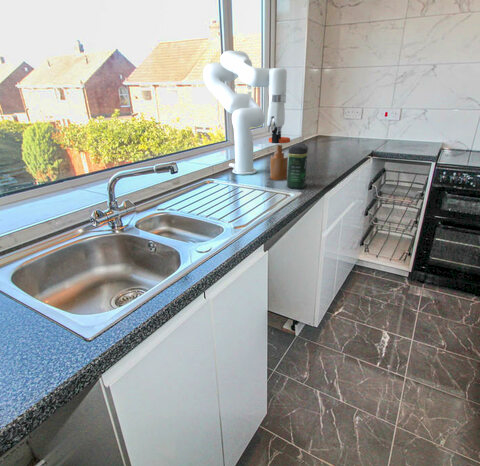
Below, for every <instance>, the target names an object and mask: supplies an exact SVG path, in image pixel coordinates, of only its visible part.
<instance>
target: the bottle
mask: <svg viewBox="0 0 480 466" xmlns="http://www.w3.org/2000/svg"><path fill="white" fill-rule="evenodd" d="M287 176H288V155H285V152H284V151H283V145H282V144H276V150H275V151H274V153H273V155H271V156H270V157H269V179H270V180H272V181H287Z"/></svg>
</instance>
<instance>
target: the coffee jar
mask: <svg viewBox="0 0 480 466" xmlns="http://www.w3.org/2000/svg"><path fill="white" fill-rule="evenodd" d="M308 149H309V147H308V145H306V144H305V143H295V144H293V145H291V146H289V147H288V151H287V153H288V155H287V156H288V169H287V179H286V187H287V188H291V189H295V190H297V189H303V188H304V187H305V186H306V185H307V167H308V166H307V165H308V153H309V152H308Z"/></svg>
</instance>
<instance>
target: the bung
mask: <svg viewBox="0 0 480 466" xmlns="http://www.w3.org/2000/svg"><path fill="white" fill-rule="evenodd" d="M290 142H291V138H290V137H287V136H281V139H279V143H278V144H288V143H290ZM268 143H271V144H273V143H272V136H271V137H268Z"/></svg>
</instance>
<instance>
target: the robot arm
mask: <svg viewBox="0 0 480 466" xmlns="http://www.w3.org/2000/svg"><path fill="white" fill-rule="evenodd" d="M287 71H288V70H287V69H286V68H284V67H272V68H270V67H269V68H268V67H254V66H253V62H252V60H251V59H250V57H249V55H248V54H247V53H246V52H245V51H241V50H225V51H224V52H223V53H221V55H220V62H211V63H208V64H206V65H205V66H204V67H203V73H202V77H203V82H204V83H205V86H206V88H207V89H208V90H209V92H210V93H211V94H212V95H213V96H214V97H215V98H216V99H217V101H218V102H219V103H220V105H221V106H222V107H223V108H224V110H225V111H226V112H227V113H229V114H231V124H232V128H233V140H234V163H232V162H229V164H228V167H229V168H233V169H232V171H231V172H232V174H235V175H239V176H243V175H244V176H246V175H247V176H248V175H254V174H256V173H257V168H255V167H254V135H253V133H252V130H251V129H253V128H259V127H261V126H263V125H264V123H265V120H266V115H265V113H264V110H263V109H262V107H261V106H260V105H259V104H258V102H256V100H255V99H254V98H253V97H252V96H251V95H250V94H248V93H237V92H234V90H232V89H231V87H230V85H228V84H227V83H225V82H232V81H235V80H236V79H237V78H239V80H240V82H242V83H244V84H246V85H248V86H250V87H253V88H268V108H267V122H266V123H267V124H266V126H267V127H268V128H270V130H271V137H272V143H271V144H276V145H279V144H280V143H279V139H281V137H282V128H283V126H284V125H285V119H286V118H285V116H286V115H285V114H286V112H285V104H287V78H288V77H287V73H288V72H287Z"/></svg>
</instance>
